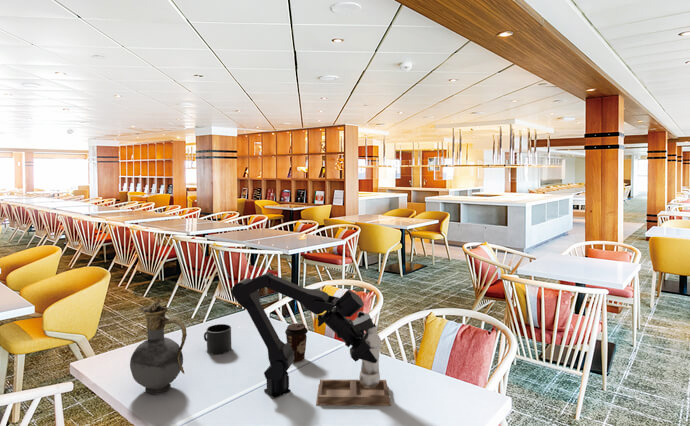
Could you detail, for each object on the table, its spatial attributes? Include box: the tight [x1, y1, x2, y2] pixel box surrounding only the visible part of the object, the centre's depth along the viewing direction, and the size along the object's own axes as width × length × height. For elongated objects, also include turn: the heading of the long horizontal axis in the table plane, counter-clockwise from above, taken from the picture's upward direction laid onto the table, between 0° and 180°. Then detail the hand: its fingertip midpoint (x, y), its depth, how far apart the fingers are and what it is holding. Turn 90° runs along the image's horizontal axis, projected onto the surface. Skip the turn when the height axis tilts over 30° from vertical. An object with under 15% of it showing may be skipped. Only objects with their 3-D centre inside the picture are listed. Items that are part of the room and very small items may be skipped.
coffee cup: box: [284, 323, 309, 363], centre depth 163 cm, size 9×8×13 cm
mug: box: [203, 323, 232, 355], centre depth 172 cm, size 9×12×9 cm
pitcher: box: [129, 299, 188, 395], centre depth 139 cm, size 11×19×30 cm, turn 75°
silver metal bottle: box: [358, 323, 382, 388], centre depth 136 cm, size 6×7×20 cm
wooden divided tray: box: [315, 379, 392, 407], centre depth 137 cm, size 23×12×2 cm, turn 90°
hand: (374, 357), depth 136 cm, fingers closed on silver metal bottle, 6 cm apart
